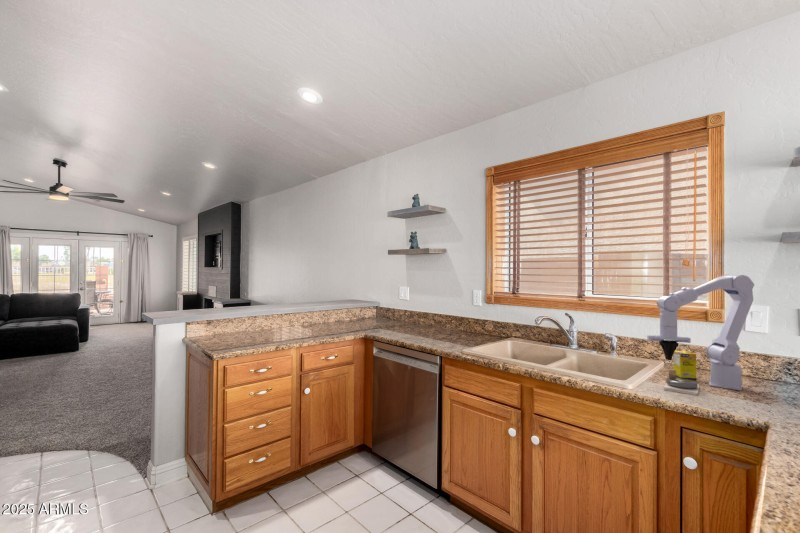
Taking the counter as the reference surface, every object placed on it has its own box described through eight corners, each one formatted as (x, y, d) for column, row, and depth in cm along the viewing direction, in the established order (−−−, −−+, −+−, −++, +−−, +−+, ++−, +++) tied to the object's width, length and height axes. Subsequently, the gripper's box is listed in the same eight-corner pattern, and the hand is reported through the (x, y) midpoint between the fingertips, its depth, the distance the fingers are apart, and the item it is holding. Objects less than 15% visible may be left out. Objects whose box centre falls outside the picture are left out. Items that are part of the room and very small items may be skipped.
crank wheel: (704, 388, 141) (704, 375, 141) (684, 389, 138) (684, 377, 138) (679, 380, 150) (679, 368, 150) (659, 382, 148) (659, 370, 148)
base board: (698, 387, 146) (698, 384, 146) (697, 395, 136) (697, 392, 136) (667, 382, 152) (667, 379, 152) (664, 389, 142) (664, 386, 142)
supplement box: (696, 380, 155) (696, 353, 155) (680, 379, 156) (680, 353, 156) (688, 376, 161) (688, 350, 161) (673, 375, 162) (673, 350, 162)
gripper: (652, 326, 149) (652, 360, 149) (694, 328, 145) (694, 363, 145) (645, 324, 156) (645, 356, 156) (685, 325, 152) (685, 359, 152)
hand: (668, 359), depth 151 cm, fingers closed
